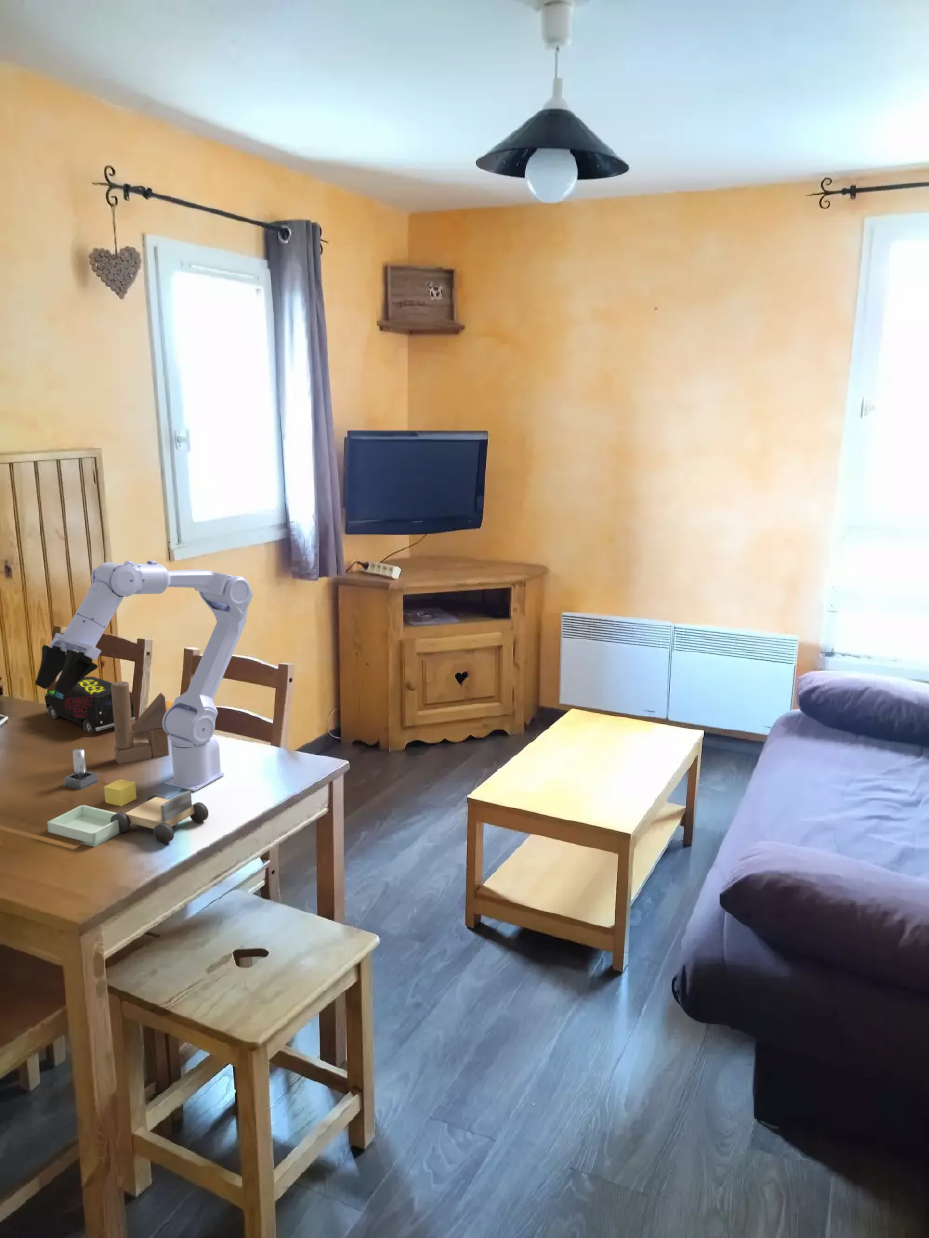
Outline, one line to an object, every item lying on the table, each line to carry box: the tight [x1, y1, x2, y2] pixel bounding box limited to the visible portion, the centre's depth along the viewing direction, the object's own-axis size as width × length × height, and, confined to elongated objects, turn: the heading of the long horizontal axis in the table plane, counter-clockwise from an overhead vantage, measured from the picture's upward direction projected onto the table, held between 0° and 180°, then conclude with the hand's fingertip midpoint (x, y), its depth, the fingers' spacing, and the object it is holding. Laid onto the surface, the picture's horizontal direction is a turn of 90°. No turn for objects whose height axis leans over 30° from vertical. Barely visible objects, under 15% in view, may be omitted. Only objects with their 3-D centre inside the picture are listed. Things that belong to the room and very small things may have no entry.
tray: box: [46, 804, 120, 848], centre depth 161 cm, size 8×11×2 cm
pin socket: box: [62, 770, 101, 791], centre depth 181 cm, size 5×5×2 cm
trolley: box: [111, 790, 209, 845], centre depth 163 cm, size 10×14×6 cm
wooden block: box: [111, 680, 170, 765], centre depth 193 cm, size 4×11×18 cm, turn 121°
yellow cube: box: [103, 778, 137, 807], centre depth 173 cm, size 4×4×4 cm
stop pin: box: [72, 748, 87, 780], centre depth 180 cm, size 2×2×7 cm
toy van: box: [44, 676, 136, 734], centre depth 218 cm, size 11×25×10 cm, turn 52°
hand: (50, 689), depth 155 cm, fingers open, 7 cm apart
